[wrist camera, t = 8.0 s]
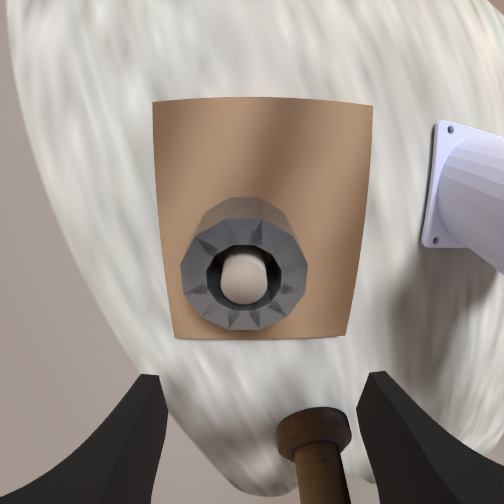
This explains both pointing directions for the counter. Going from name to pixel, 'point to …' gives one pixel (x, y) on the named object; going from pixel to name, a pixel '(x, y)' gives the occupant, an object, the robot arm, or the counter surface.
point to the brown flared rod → (317, 453)
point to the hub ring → (244, 233)
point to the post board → (265, 199)
